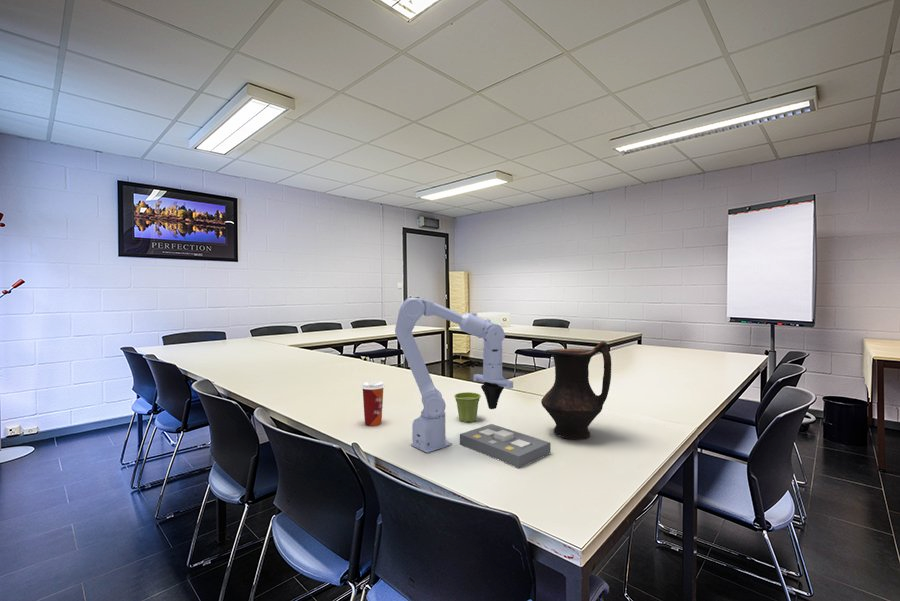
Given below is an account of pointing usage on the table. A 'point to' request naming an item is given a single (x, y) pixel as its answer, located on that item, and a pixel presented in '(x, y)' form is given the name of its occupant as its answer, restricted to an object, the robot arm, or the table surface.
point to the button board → (505, 446)
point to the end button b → (520, 444)
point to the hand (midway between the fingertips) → (492, 408)
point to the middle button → (503, 436)
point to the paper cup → (373, 402)
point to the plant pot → (467, 406)
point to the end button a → (487, 432)
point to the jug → (576, 391)
